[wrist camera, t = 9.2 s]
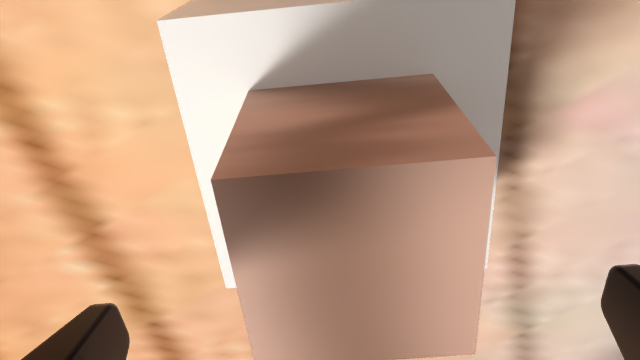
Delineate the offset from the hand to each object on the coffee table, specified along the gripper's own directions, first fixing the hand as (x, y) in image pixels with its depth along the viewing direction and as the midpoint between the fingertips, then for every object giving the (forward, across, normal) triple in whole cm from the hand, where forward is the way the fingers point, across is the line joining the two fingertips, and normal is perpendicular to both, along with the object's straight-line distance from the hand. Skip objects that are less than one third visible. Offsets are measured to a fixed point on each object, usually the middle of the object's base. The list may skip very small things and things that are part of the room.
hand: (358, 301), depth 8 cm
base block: (+10, 0, 0) cm, 10 cm away
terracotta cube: (+6, 0, 0) cm, 6 cm away
